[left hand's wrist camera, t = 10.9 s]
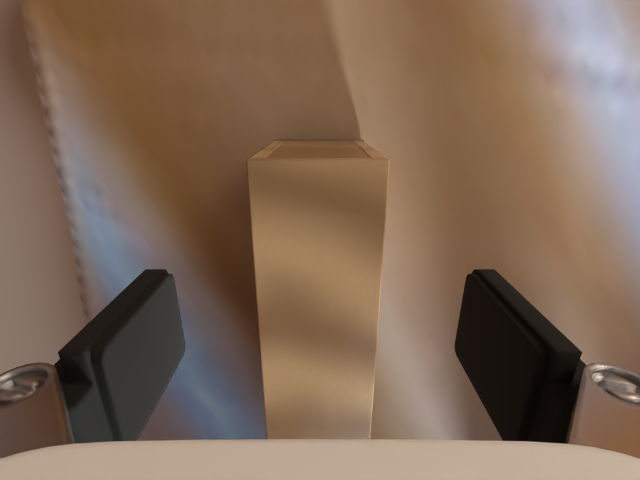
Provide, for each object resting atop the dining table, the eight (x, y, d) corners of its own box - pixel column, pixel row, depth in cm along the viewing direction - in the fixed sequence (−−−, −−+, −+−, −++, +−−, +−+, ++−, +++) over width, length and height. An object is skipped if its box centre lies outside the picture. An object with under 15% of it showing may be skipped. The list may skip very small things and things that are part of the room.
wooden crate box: (353, 357, 33) (368, 468, 23) (284, 357, 33) (268, 468, 23) (362, 139, 26) (390, 159, 16) (274, 139, 26) (245, 159, 16)
